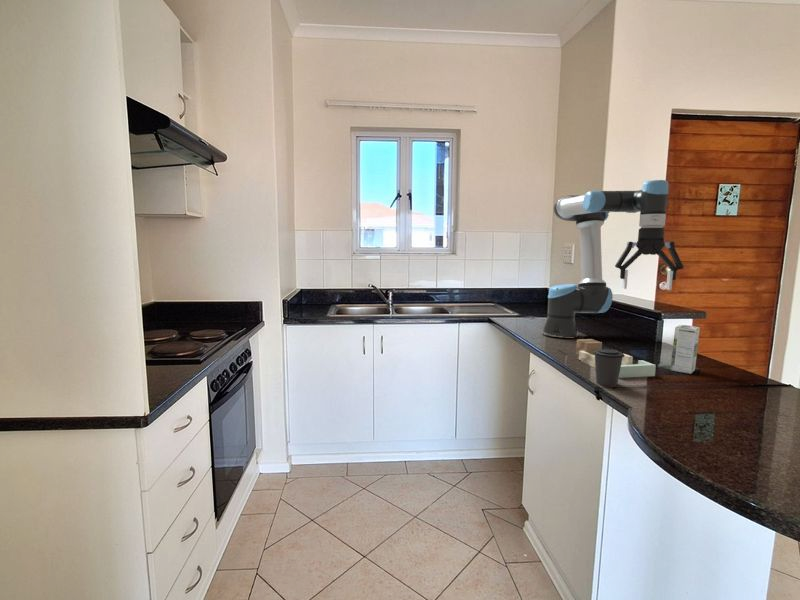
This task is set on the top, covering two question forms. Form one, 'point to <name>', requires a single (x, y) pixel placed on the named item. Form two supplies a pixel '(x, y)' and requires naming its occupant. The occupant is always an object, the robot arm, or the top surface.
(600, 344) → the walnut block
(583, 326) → the top surface
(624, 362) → the tunnel
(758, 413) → the top surface
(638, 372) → the backstop bay
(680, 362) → the syrup box
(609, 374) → the coffee cup
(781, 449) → the top surface
